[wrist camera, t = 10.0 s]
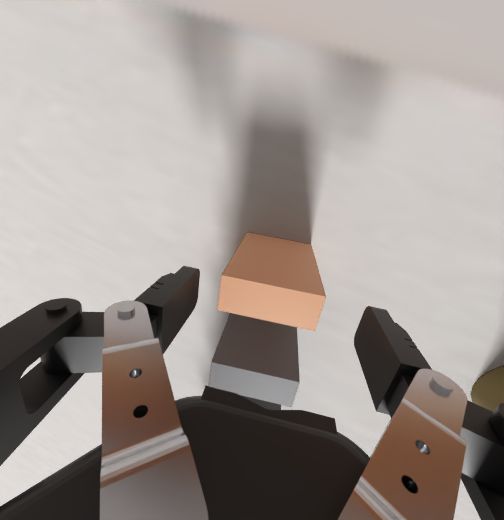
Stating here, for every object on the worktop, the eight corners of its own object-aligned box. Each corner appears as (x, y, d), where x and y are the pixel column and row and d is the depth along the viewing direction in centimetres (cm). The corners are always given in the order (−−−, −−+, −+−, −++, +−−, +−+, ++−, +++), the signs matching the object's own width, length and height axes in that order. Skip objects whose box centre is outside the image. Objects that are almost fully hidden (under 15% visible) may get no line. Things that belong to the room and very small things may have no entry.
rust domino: (311, 244, 19) (325, 296, 12) (304, 268, 20) (314, 331, 12) (247, 232, 19) (221, 275, 12) (243, 255, 20) (217, 310, 13)
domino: (295, 305, 21) (299, 382, 14) (290, 324, 22) (291, 407, 14) (238, 293, 21) (211, 362, 14) (235, 312, 22) (208, 387, 15)
